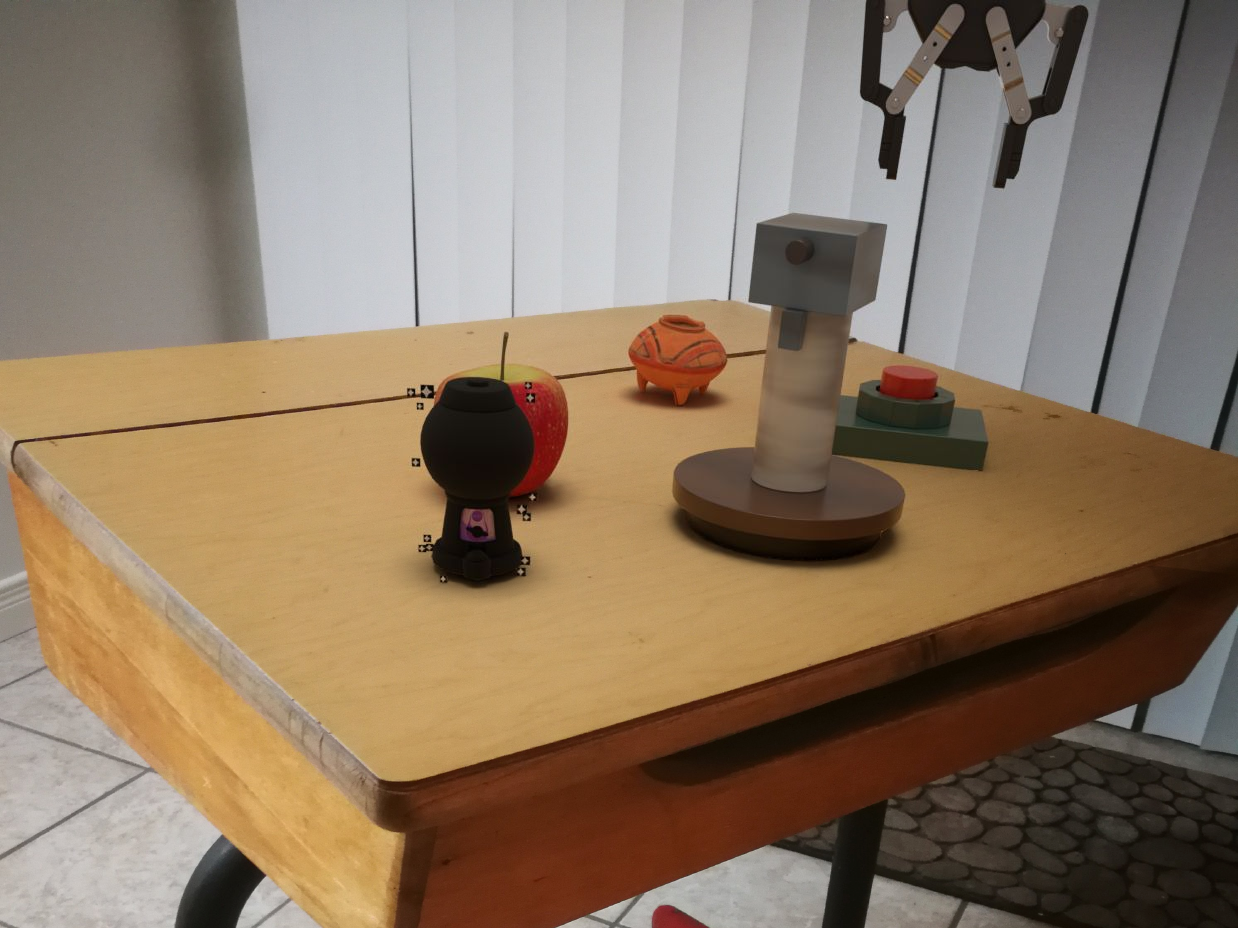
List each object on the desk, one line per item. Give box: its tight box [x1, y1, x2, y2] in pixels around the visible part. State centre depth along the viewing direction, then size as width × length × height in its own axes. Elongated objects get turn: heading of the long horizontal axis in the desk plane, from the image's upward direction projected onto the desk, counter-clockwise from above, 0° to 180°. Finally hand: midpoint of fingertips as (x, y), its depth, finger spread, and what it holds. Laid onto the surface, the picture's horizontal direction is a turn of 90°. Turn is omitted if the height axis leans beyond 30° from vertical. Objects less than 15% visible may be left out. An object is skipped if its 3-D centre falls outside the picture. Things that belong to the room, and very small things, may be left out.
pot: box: [627, 314, 728, 406], centre depth 102 cm, size 8×8×7 cm
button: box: [879, 365, 939, 400], centre depth 93 cm, size 4×4×2 cm
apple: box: [433, 331, 569, 498], centre depth 78 cm, size 8×8×10 cm
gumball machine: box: [406, 377, 538, 584], centre depth 67 cm, size 7×6×10 cm
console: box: [832, 379, 989, 472], centre depth 94 cm, size 12×9×4 cm
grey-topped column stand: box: [671, 212, 906, 540], centre depth 73 cm, size 14×14×15 cm
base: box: [685, 511, 883, 562], centre depth 78 cm, size 12×12×1 cm
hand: (944, 182), depth 85 cm, fingers open, 6 cm apart
